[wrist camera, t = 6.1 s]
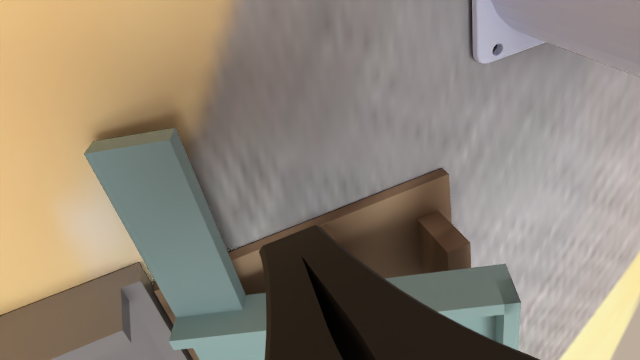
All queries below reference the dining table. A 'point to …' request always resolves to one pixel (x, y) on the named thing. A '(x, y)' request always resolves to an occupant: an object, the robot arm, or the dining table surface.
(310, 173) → the dining table surface
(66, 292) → the tray
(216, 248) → the lever
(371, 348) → the robot arm
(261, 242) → the base
